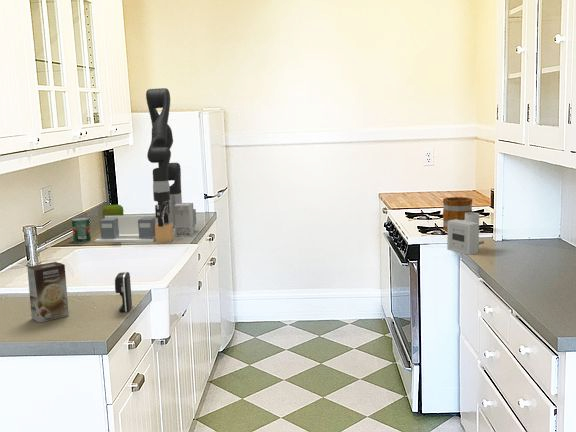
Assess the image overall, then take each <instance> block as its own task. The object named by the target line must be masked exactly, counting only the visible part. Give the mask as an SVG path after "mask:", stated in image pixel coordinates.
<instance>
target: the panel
mask: <svg viewBox="0 0 576 432" xmlns="http://www.w3.org/2000/svg"><path fill="white" fill-rule="evenodd" d="M105 218H118V227H119V236H139V229H138V220H139V219H141V218H155V220H156V224H157V223H158V219H157V218H156V214H153V215H152V214H151V215H147V214H146V215H143V214H142V215H123V216H105ZM154 242H156V237H155V238H153V239H98V238H96V239H94V243H154Z"/></svg>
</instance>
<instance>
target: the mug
mask: <svg viewBox="0 0 576 432" xmlns="http://www.w3.org/2000/svg"><path fill="white" fill-rule="evenodd" d="M442 201H443V203H442V204H443V207H442V209H443V210H442V220H443V223H442V224H443V225H442V231H443V230H445V231H446V233H448V221H449V220H455V219H457V220H465V213H473V209H472V208H473V198H470V197H463V196H461V197H460V196H454V197H452V196H451V197H444V198H443V199H442ZM445 231H444V232H445Z"/></svg>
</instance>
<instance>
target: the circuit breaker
mask: <svg viewBox="0 0 576 432" xmlns="http://www.w3.org/2000/svg"><path fill="white" fill-rule="evenodd" d="M174 207H175V208H174V214H175V227H174V234H175V237H191V236H193V235H194V234H195V232H196V230H195V225H196V224H197V210H196V208H194V203H193V202H182V203H177V204H176V205H174Z"/></svg>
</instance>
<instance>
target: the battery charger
mask: <svg viewBox="0 0 576 432" xmlns="http://www.w3.org/2000/svg"><path fill="white" fill-rule="evenodd" d="M131 285H132V284H131V273H130V272H128V271H124V272H123V271H122V272H119V273H118V274H117V275H116V277H115V278H114V287H115V288H114V290H115V293H116V294H119V296H120V297H121V299H122V304H121V305H120V307H119V308H118V311H119V312H121V313H123V312H124V313H127V312H130V310H131V307H132V306H133V299H132V288H131V287H132V286H131Z"/></svg>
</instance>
